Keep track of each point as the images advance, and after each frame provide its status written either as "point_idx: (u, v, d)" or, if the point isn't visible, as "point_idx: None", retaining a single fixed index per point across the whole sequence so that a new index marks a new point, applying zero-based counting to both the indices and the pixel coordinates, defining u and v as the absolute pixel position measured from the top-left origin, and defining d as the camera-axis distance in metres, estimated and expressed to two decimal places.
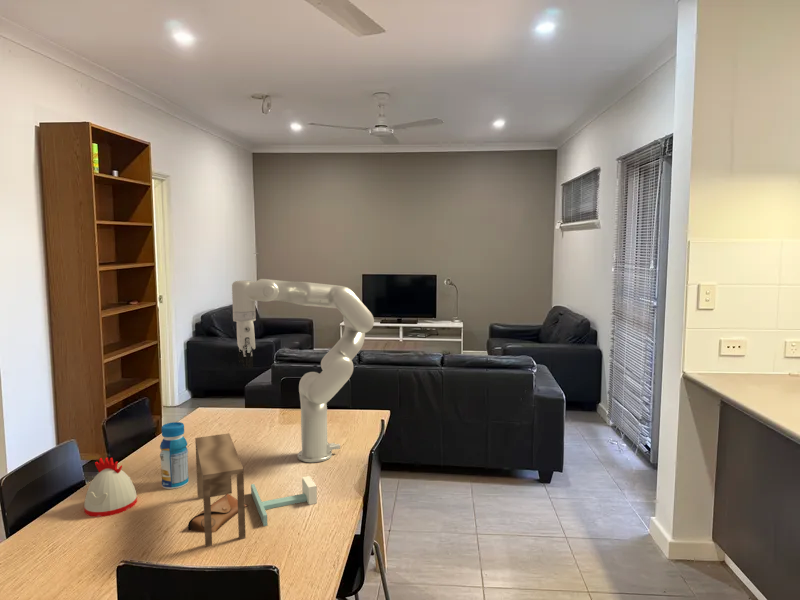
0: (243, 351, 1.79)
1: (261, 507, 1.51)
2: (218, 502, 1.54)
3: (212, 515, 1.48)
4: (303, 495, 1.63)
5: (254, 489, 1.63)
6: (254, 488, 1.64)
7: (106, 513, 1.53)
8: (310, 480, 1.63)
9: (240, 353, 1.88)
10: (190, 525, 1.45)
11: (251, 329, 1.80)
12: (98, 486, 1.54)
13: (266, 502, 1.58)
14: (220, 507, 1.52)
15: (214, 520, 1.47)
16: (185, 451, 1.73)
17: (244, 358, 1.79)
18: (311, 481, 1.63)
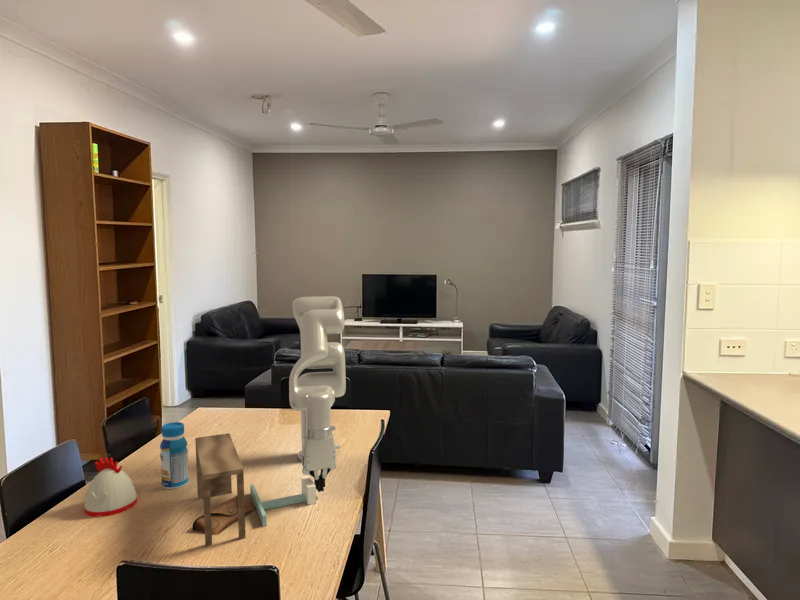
0: (326, 472, 1.63)
1: (260, 507, 1.51)
2: (226, 504, 1.53)
3: (217, 517, 1.47)
4: (302, 495, 1.62)
5: (253, 489, 1.63)
6: (253, 488, 1.63)
7: (106, 513, 1.53)
8: (309, 480, 1.63)
9: None
10: (194, 525, 1.44)
11: None
12: (98, 486, 1.54)
13: (265, 502, 1.58)
14: (227, 509, 1.51)
15: (218, 522, 1.46)
16: (185, 451, 1.73)
17: None
18: (310, 481, 1.63)
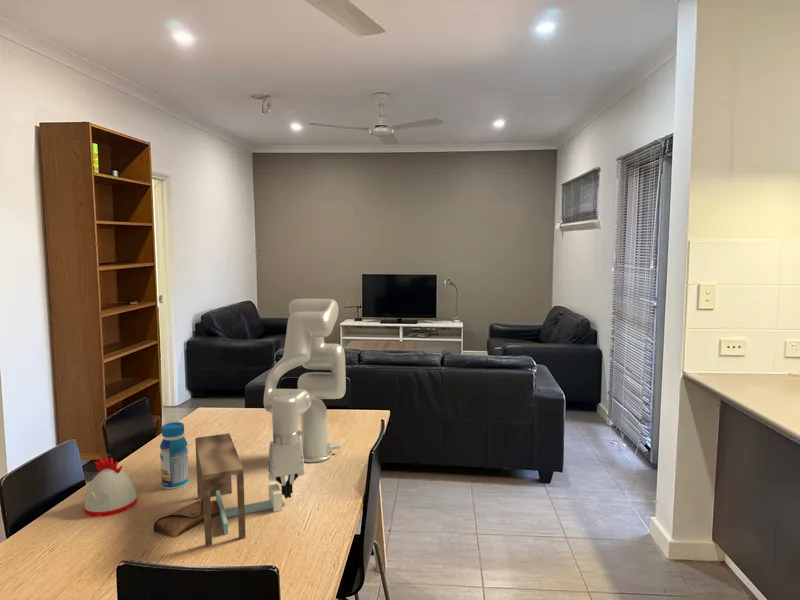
0: (293, 478, 1.59)
1: (223, 515, 1.47)
2: (190, 505, 1.52)
3: (179, 518, 1.46)
4: (269, 502, 1.58)
5: (218, 496, 1.59)
6: (219, 494, 1.59)
7: (106, 513, 1.53)
8: (276, 486, 1.59)
9: None
10: (155, 526, 1.44)
11: None
12: (98, 486, 1.54)
13: (230, 509, 1.54)
14: (190, 511, 1.49)
15: (179, 524, 1.44)
16: (185, 451, 1.73)
17: None
18: (277, 487, 1.58)
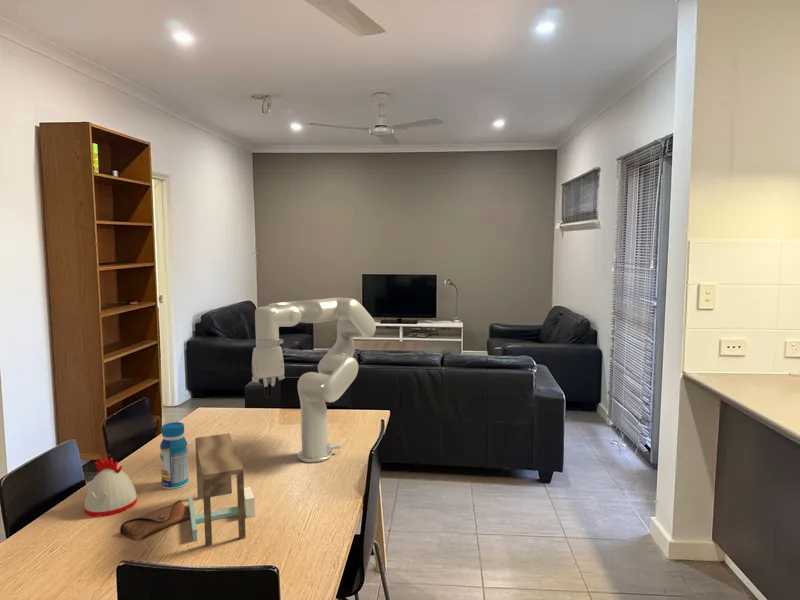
0: (274, 380, 1.78)
1: (192, 521, 1.44)
2: (161, 509, 1.50)
3: (146, 522, 1.45)
4: None
5: (190, 501, 1.55)
6: (190, 500, 1.56)
7: (106, 513, 1.53)
8: (249, 491, 1.56)
9: (269, 388, 1.77)
10: (121, 529, 1.43)
11: None
12: (98, 486, 1.54)
13: (201, 515, 1.51)
14: (159, 515, 1.47)
15: (144, 528, 1.43)
16: (185, 451, 1.73)
17: (271, 388, 1.78)
18: (250, 492, 1.55)
